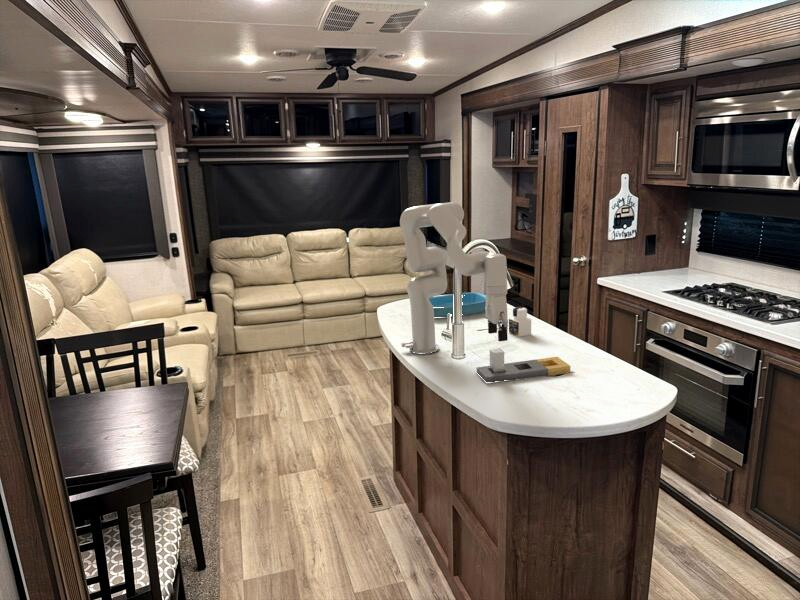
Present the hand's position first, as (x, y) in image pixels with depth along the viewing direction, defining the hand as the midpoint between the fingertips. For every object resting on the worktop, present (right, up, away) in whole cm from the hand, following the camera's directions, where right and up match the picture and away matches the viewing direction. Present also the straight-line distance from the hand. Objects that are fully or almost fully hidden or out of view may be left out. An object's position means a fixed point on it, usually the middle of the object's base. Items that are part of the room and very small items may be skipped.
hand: (497, 336), depth 193 cm
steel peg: (+1, -15, +4) cm, 15 cm away
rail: (+10, -14, +6) cm, 18 cm away
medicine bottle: (+19, -2, +49) cm, 53 cm away
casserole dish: (-7, +6, +89) cm, 90 cm away
